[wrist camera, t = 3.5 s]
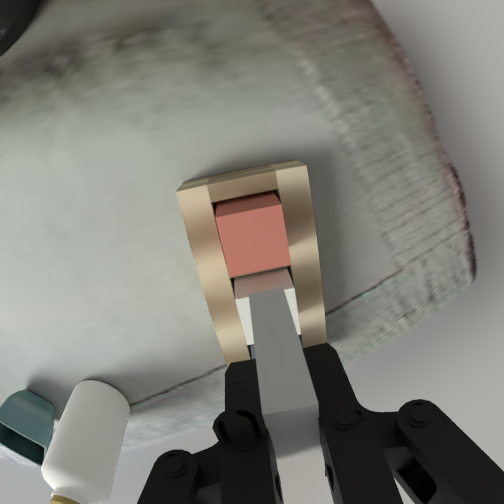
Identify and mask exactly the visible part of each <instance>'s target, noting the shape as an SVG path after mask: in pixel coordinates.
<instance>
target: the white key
mask: <svg viewBox="0 0 504 504" xmlns="http://www.w3.org/2000/svg"><path fill="white" fill-rule="evenodd" d="M234 286H235V301H236V305H237V309H238V313H239V317H240V321H241V325H242V328H243V332H244V336H245V340H246V344H247V345H251V344H254V339H253V330H252V321H251V312H250V303H249V294H252V293H257V292H262V291H267V290H272V289H276V288H281V287H283V289H284V292H285V295H286V298H287V301H288V305H289V308H290V311H291V314H292V318H293V321H294V324H295V327H296V331H297V334H298V335H300V334H301V331H300V323H299V316H298V309H297V302H296V295H295V289H294V285H293V283H292V280H291V277H290V275H289V272H288V270H287V267H282V268H277V269H273V270H268V271H263V272H258V273H253V274H248V275H243V276H238V277H234Z"/></svg>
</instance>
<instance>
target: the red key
mask: <svg viewBox="0 0 504 504" xmlns="http://www.w3.org/2000/svg"><path fill="white" fill-rule="evenodd" d="M215 219H216V223H217V227H218V231H219V235H220V240H221V244H222V248H223V252H224V256H225V260H226V264H227V268H228V272H229V276H230V277H231V276H236V275H241V274H246V273H251V272H256V271H261V270H266V269H271V268H276V267H281V266H285V265H290V264H291V260H290V254H289V247H288V241H287V235H286V229H285V223H284V217H283V211H282V205H281V203H280V201H279V200H278V198H277V196H276V195H275V193H274V192H273V190H270V191H265V192H260V193H255V194H250V195H245V196H240V197H235V198H230V199H225V200H221V201H218V203H217V209H216V216H215Z"/></svg>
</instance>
